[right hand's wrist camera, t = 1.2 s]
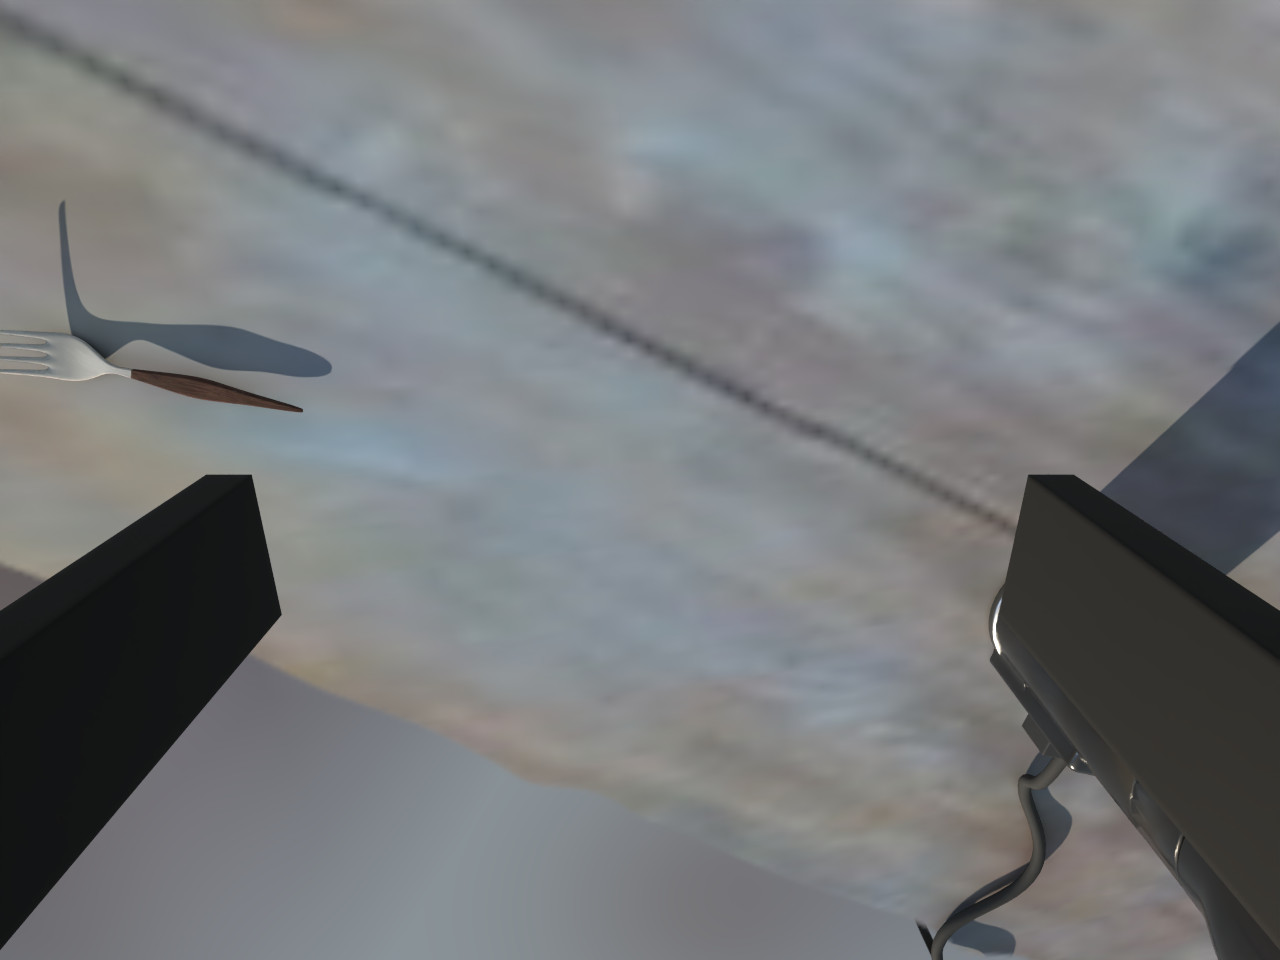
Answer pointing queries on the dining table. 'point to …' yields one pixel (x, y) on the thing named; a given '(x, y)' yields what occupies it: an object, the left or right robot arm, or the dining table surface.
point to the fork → (121, 370)
